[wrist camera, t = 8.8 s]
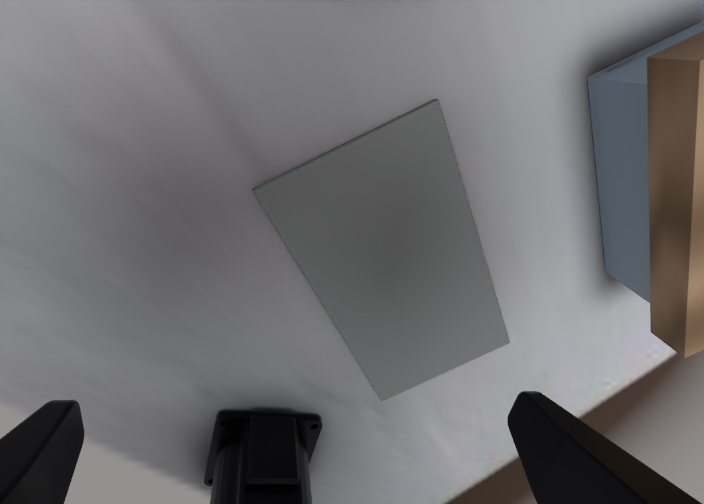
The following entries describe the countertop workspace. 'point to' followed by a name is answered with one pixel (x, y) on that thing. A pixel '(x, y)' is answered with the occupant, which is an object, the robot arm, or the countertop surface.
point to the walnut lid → (677, 194)
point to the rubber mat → (392, 250)
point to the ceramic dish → (625, 162)
